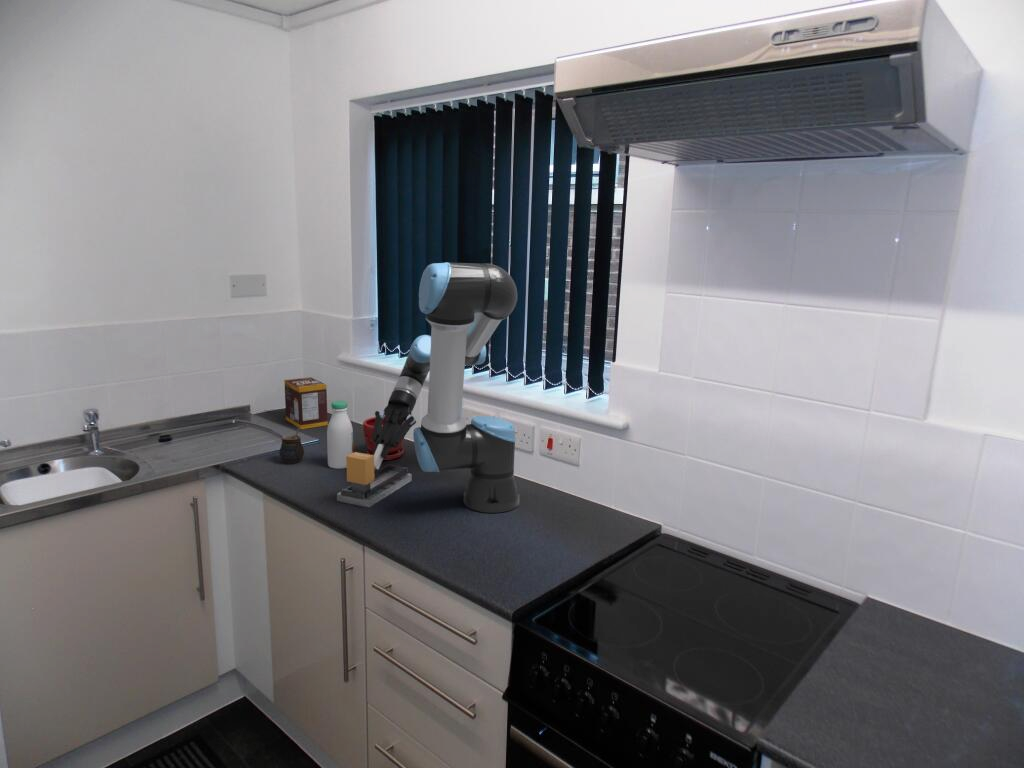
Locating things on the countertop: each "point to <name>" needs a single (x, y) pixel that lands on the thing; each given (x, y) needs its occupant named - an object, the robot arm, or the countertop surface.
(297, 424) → the supplement box
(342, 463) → the milk bottle
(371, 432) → the plant pot
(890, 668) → the countertop surface
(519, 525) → the countertop surface
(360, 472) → the fader knob
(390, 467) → the fader strip
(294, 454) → the mate gourd
